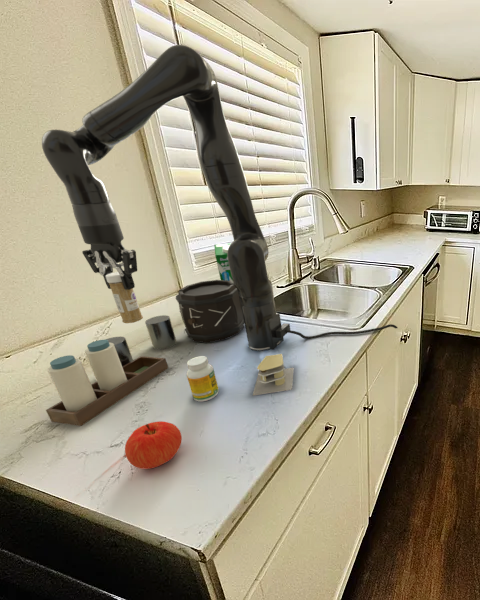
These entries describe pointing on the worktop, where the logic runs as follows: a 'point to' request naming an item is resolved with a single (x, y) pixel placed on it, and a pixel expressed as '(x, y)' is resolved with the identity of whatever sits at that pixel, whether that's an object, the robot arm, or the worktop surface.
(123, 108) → the robot arm
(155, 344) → the grey tins
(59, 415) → the spice rack
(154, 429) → the apple
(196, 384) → the supplement bottle
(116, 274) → the sprinkles bottle
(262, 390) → the stacked layers on plate
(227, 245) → the milk carton
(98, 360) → the off-white bottles
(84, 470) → the worktop surface
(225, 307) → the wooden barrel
